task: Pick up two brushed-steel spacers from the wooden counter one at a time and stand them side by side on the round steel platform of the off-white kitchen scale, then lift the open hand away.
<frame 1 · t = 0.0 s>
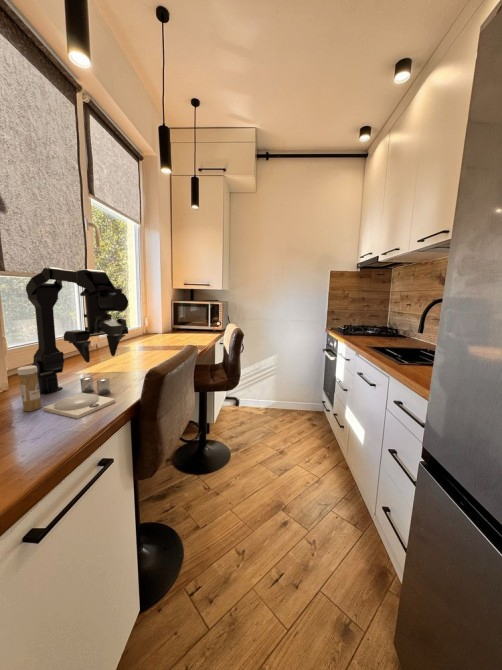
hand: (101, 359, 85), 15 cm above the table, fingers open, 9 cm apart
steel spacer 2: (88, 391, 96), on the table
sprinkles bottle: (32, 409, 81), on the table
steel spacer 1: (104, 393, 95), on the table
scale: (81, 405, 84), on the table
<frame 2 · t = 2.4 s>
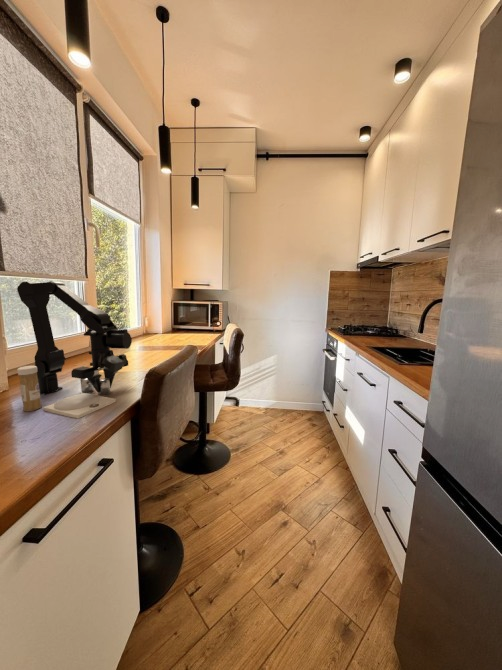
hand: (104, 390, 95), 1 cm above the table, fingers closed on steel spacer 1, 4 cm apart
steel spacer 1: (104, 392, 95), on the table, touching gripper
everything else where it was.
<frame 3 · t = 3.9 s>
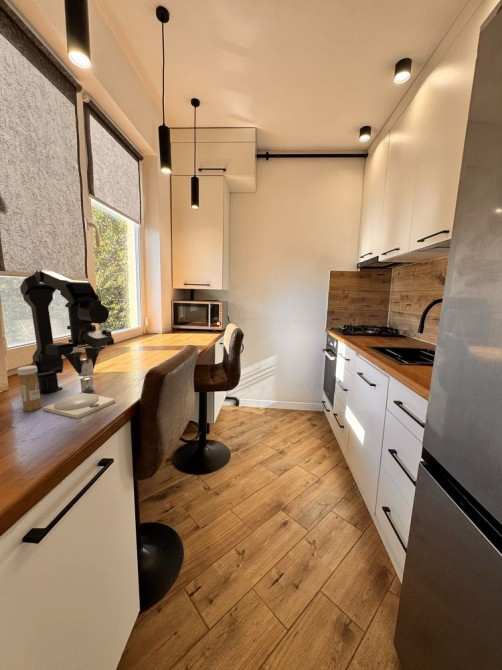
hand: (85, 371, 83), 11 cm above the table, fingers closed on steel spacer 1, 4 cm apart
steel spacer 1: (86, 374, 83), point 10 cm above the table, touching gripper
everything else where it was.
when the fingers open (3 cm above the table, at t = 5.7 s): steel spacer 1 stays where it is, resting on scale.
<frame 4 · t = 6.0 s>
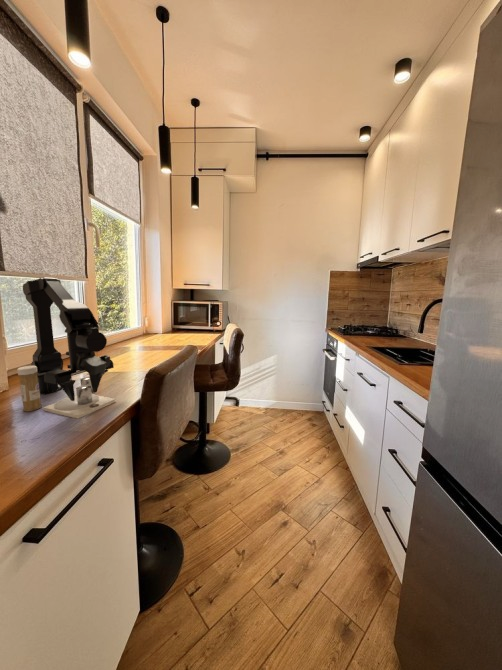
hand: (84, 396, 82), 3 cm above the table, fingers open, 7 cm apart
steel spacer 1: (85, 402, 83), point 1 cm above the table, touching scale
everything else where it was.
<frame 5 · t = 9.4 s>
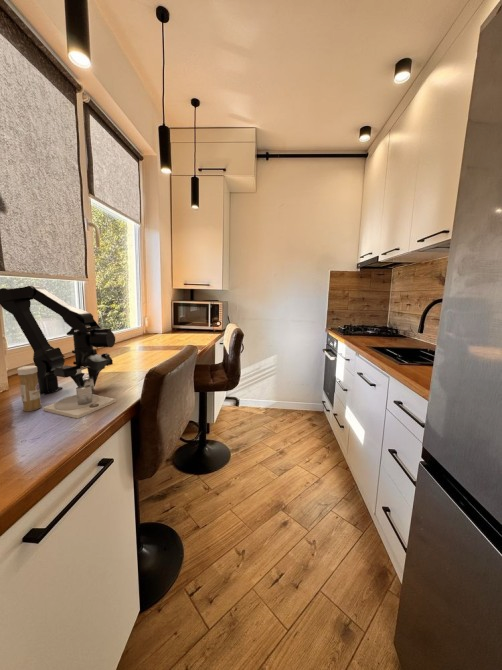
hand: (87, 388, 96), 1 cm above the table, fingers closed on steel spacer 2, 4 cm apart
steel spacer 2: (88, 391, 96), on the table, touching gripper
everything else where it was.
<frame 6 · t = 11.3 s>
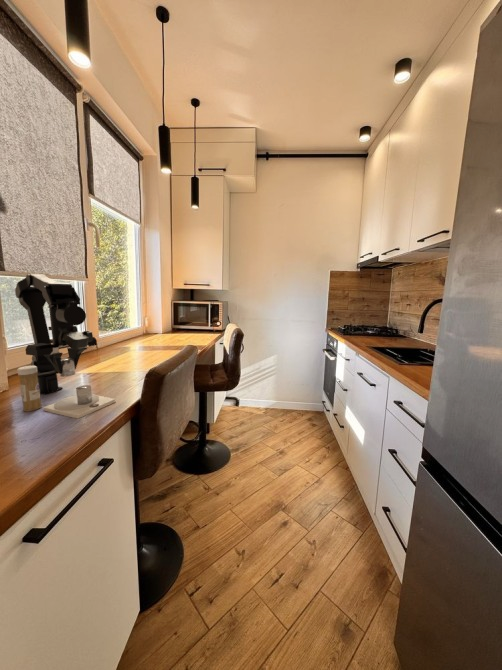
hand: (67, 371, 84), 11 cm above the table, fingers closed on steel spacer 2, 4 cm apart
steel spacer 2: (67, 374, 84), point 10 cm above the table, touching gripper
everything else where it was.
when the fingers open (3 cm above the table, at t = 12.9 s): steel spacer 2 stays where it is, resting on scale.
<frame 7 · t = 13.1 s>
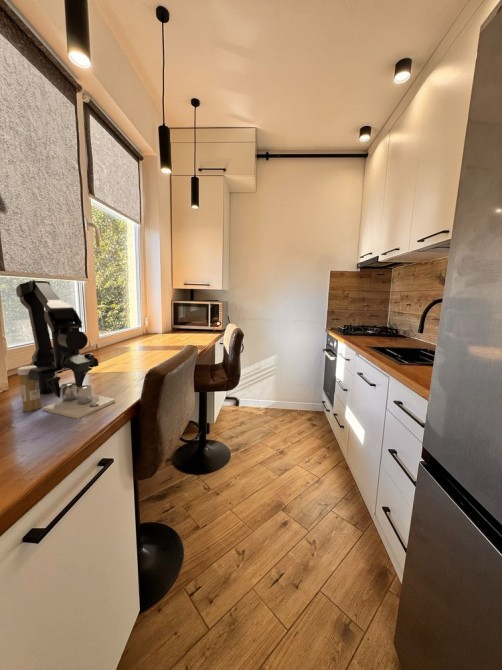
hand: (69, 393, 85), 3 cm above the table, fingers open, 6 cm apart
steel spacer 2: (69, 399, 85), point 2 cm above the table, touching scale
everything else where it was.
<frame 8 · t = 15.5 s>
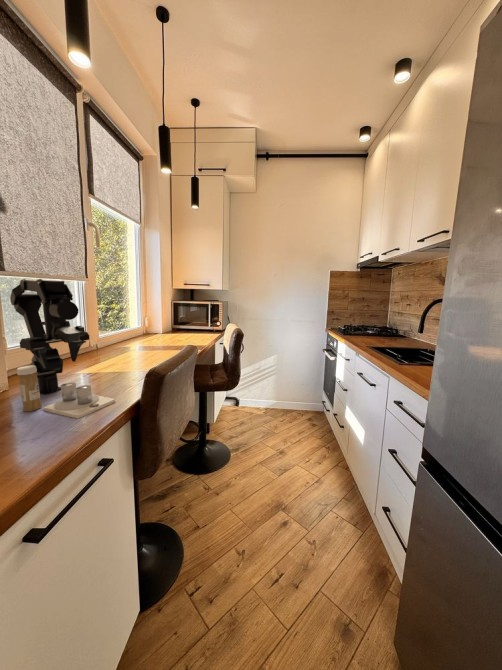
hand: (60, 364, 88), 12 cm above the table, fingers open, 9 cm apart
nothing on the table moved.
at the end: steel spacer 1 inside the target area on the scale (3.5 cm from its centre), point 1.5 cm above the scale's base; steel spacer 2 inside the target area on the scale (3.5 cm from its centre), point 1.5 cm above the scale's base; steel spacer 2 tilted 0° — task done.
